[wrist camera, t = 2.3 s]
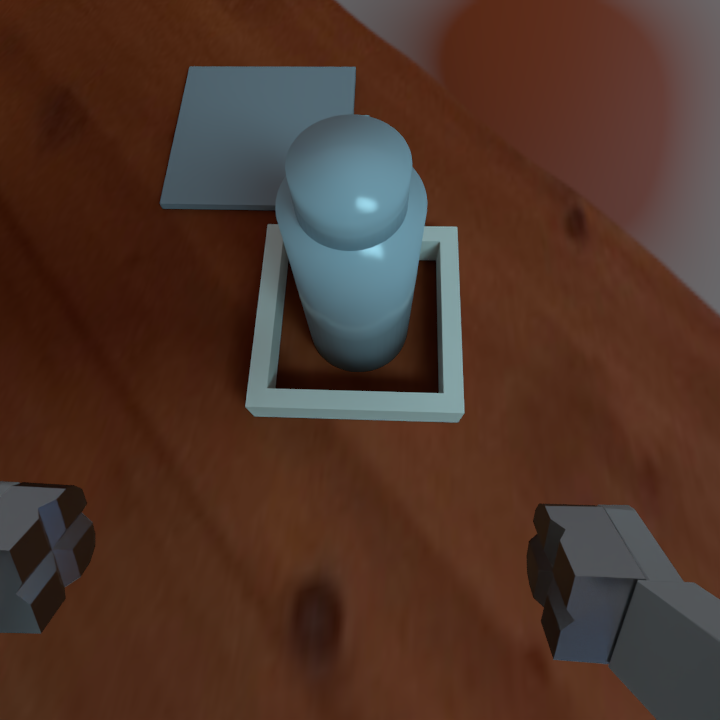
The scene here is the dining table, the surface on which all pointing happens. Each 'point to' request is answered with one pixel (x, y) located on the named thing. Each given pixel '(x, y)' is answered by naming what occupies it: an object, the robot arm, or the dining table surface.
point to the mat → (246, 131)
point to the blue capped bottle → (353, 236)
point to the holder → (358, 403)
